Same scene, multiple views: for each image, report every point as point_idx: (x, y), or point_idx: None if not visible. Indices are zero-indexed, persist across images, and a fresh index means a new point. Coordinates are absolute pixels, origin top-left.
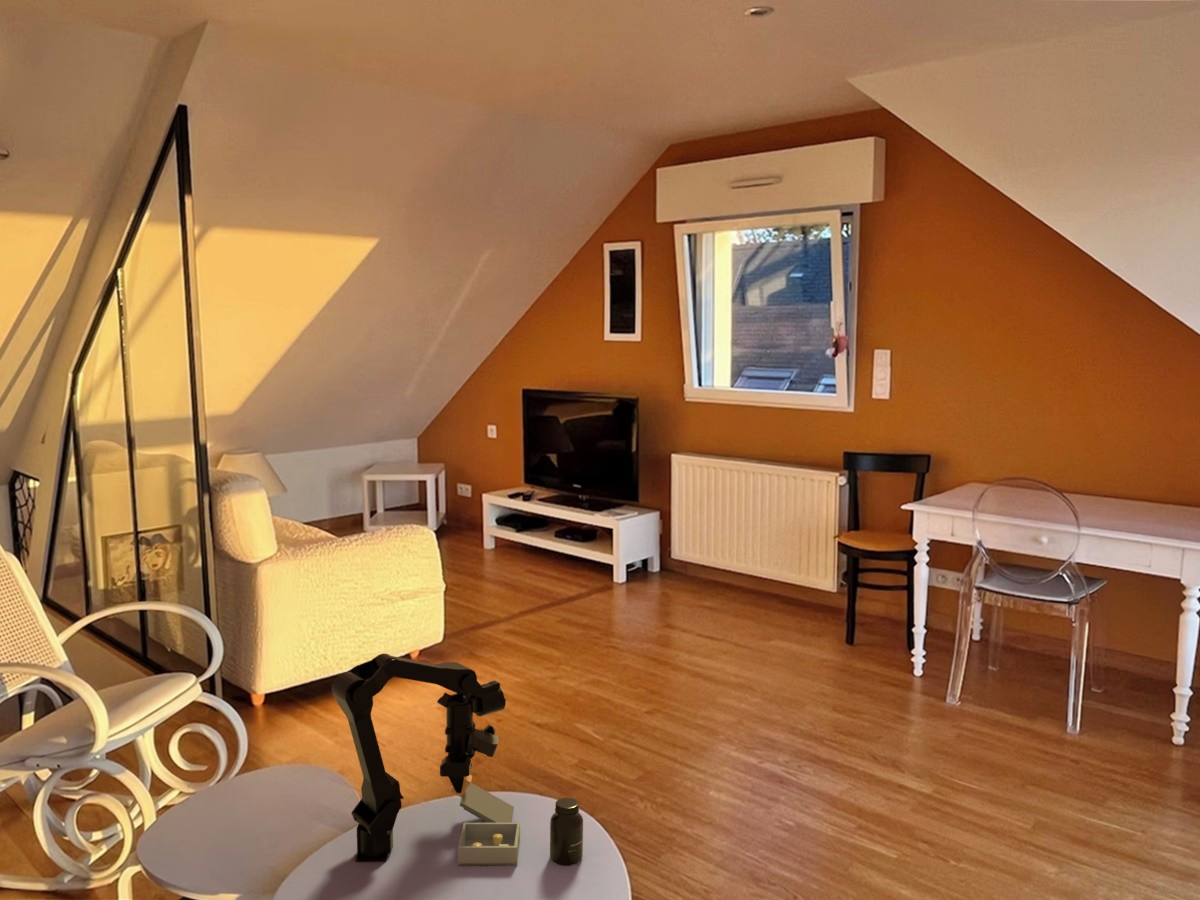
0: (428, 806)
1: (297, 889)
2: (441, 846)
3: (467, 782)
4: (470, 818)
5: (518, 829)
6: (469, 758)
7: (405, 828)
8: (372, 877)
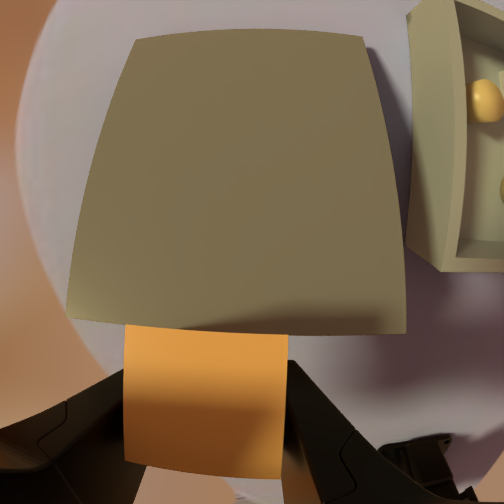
0: None
1: None
2: (426, 321)
3: (285, 367)
4: None
5: (493, 8)
6: (2, 486)
7: None
8: (492, 431)
